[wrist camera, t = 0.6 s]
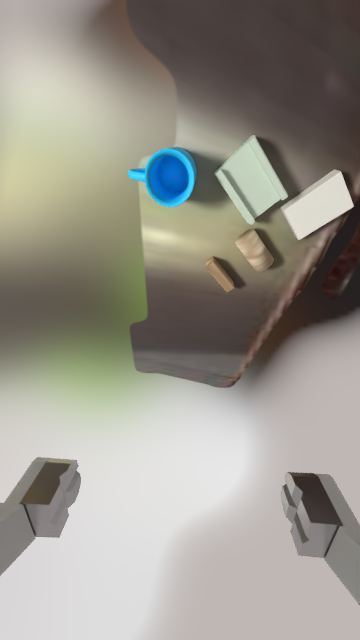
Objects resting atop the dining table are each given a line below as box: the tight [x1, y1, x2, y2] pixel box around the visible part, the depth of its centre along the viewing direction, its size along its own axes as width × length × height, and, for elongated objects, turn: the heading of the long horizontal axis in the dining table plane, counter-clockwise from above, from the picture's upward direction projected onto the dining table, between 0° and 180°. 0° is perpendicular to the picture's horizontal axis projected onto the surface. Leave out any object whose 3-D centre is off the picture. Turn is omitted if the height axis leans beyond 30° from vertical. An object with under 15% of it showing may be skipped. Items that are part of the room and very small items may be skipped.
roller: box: [235, 229, 274, 272], centre depth 49 cm, size 4×8×4 cm, turn 42°
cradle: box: [214, 135, 288, 225], centre depth 41 cm, size 8×11×4 cm
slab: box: [280, 170, 354, 240], centre depth 44 cm, size 10×7×3 cm
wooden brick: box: [206, 257, 234, 292], centre depth 54 cm, size 2×8×4 cm, turn 42°
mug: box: [128, 147, 197, 207], centre depth 41 cm, size 12×8×8 cm
